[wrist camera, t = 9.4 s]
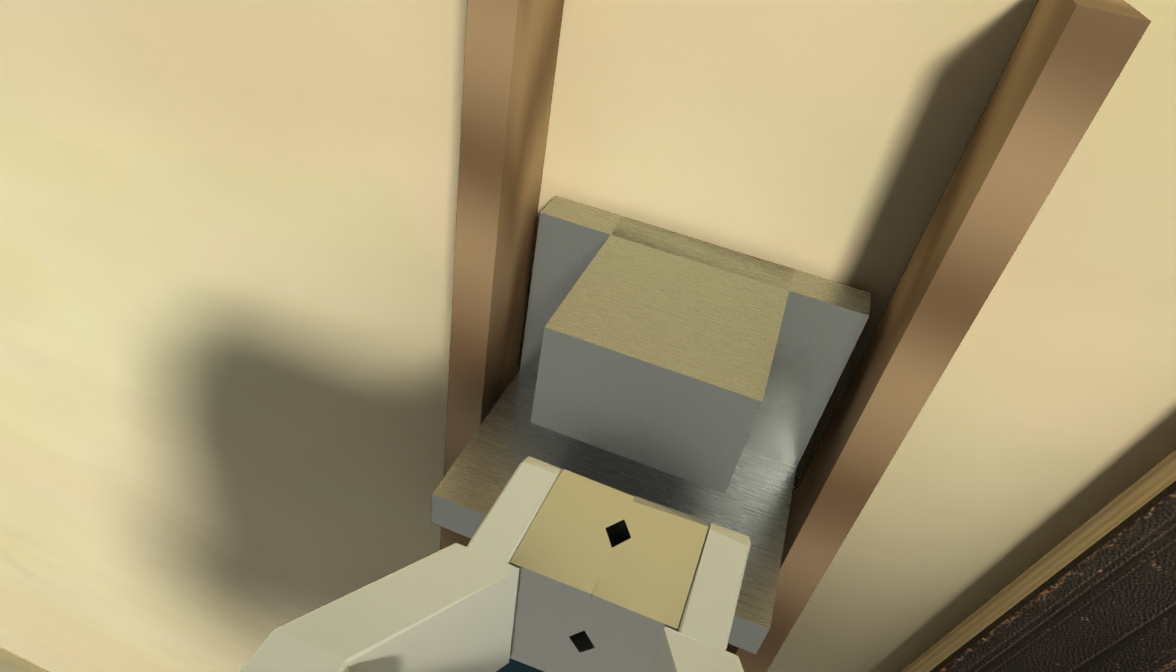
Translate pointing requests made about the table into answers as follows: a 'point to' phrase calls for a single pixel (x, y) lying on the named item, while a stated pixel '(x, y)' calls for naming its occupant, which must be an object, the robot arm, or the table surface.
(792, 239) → the table surface
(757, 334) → the keeper
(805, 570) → the guide channel
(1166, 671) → the hardcover book
